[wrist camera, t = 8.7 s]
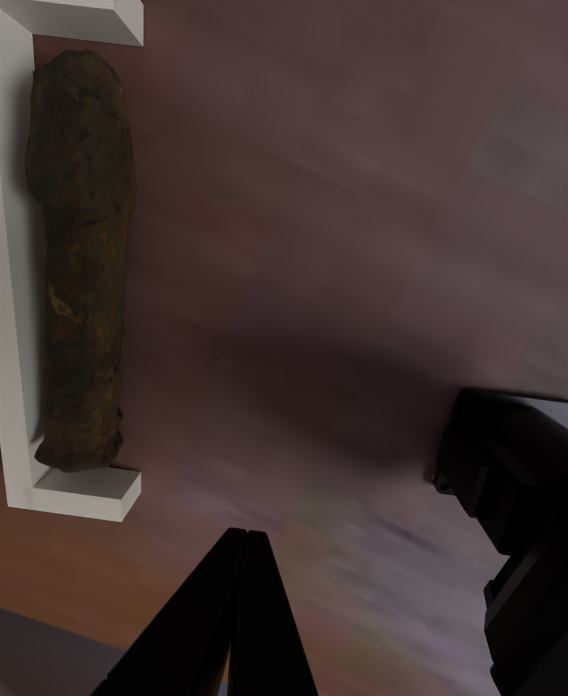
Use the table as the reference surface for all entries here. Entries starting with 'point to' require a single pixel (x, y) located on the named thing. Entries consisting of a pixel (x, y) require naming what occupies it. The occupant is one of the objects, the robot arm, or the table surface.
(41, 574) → the table surface
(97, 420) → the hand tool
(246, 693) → the robot arm
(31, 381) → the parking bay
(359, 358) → the table surface
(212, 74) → the table surface
